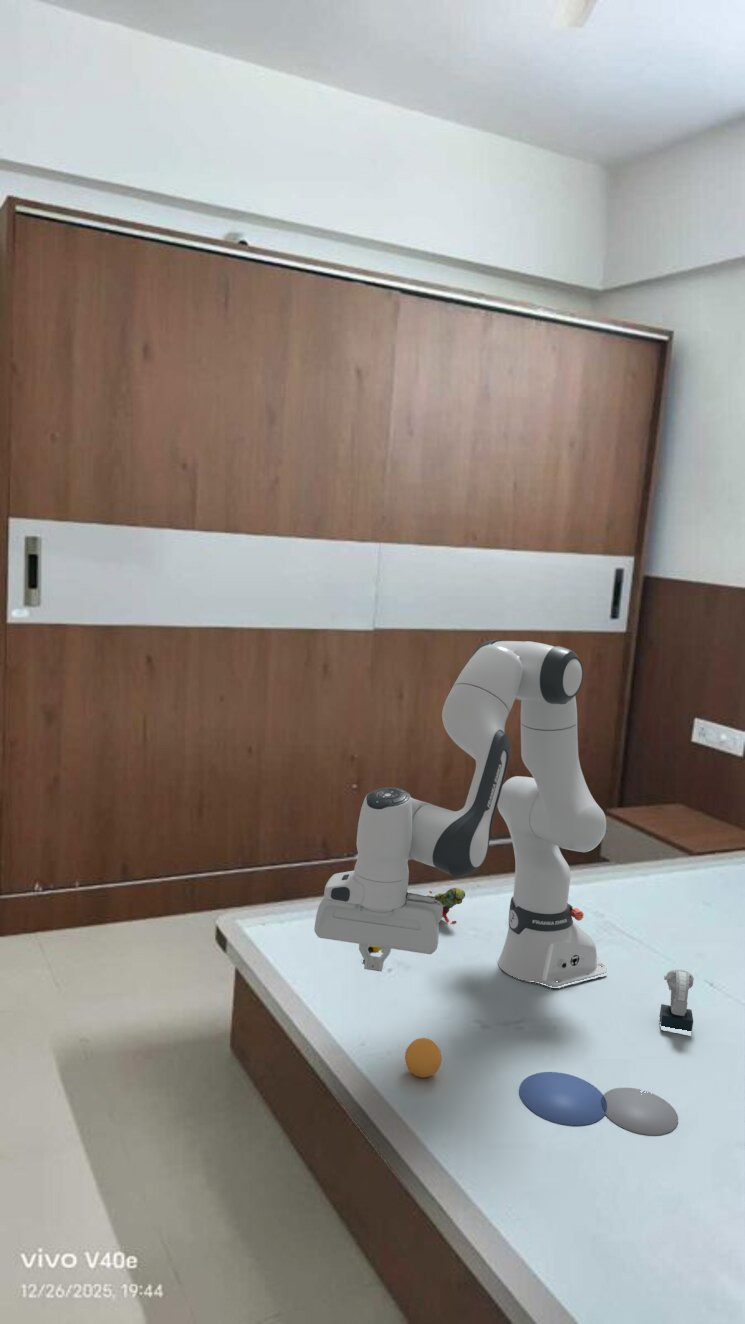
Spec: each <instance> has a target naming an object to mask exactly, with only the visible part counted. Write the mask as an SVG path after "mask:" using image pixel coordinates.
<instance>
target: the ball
mask: <svg viewBox="0 0 745 1324" xmlns="http://www.w3.org/2000/svg"><path fill="white" fill-rule="evenodd" d="M404 1061H405V1065H406V1067H407V1069H408V1070H409V1072H410V1073H411V1074H413V1075H414V1076H416V1077H419V1078H429V1077H431V1076H433V1075H434V1074H436V1073H437V1071H438V1070H439V1069H440V1067H441V1064H442V1052H441V1050H440V1047H439V1046H438V1044H437V1043H436V1042H434V1041H433V1040H432V1039H429V1038H425V1037H421V1038H417V1039H414V1040H413V1041H411V1042H410V1043H409V1044H408V1046H407V1048H406V1050H405V1054H404Z"/></svg>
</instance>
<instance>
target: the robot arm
mask: <svg viewBox="0 0 745 1324" xmlns="http://www.w3.org/2000/svg"><path fill="white" fill-rule="evenodd" d="M583 678H584V668H583V663H582V661H581V659H580V657H579V656H578V654H577V653H576V652H575V651H573V650H571V649H569V648H566V647H563V646H560V645H556V646H553V645H551V644H550V645H549V644H546V643H541V642H535V641H531V640H530V641H528V640H527V641H520V640H519V641H517V640H502V639H490V640H486V641H483V642H481V644H479V645H478V646H477V647H476V648H475V649H474V651H473V652H472V655H471V657H470V659H469V660H468V662H467V663H466V664H465V666H464V667H463V669H462V670H461V672H460V673H459V675H458V677H457V679H456V680H455V682H454V683H453V686H452V688H451V689H450V692H449V693H448V695H447V697H446V699H445V702H444V703H443V707H442V712H441V718H442V719H441V720H442V723H443V726H444V730H445V731H446V733H447V734H448V736H449V737H450V739H451V740H452V741H453V742H454V743H455V744H456V745H457V746H458V747H459V748H460V749H461V750H463V751H464V752H465V753H466V754H468V755H469V756H470V757H471V758H473V759H474V760H475V770H474V773H473V776H472V781H471V783H470V788H469V791H468V795H467V797H466V801H465V803H464V806H463V807H462V808H461V809H459V810H457V811H454V810H451V809H447V808H445V807H441V806H437V805H435V804H432V803H430V802H426V801H422V800H419V799H416V798H413V797H411V794H410V793H409V792H408V791H406V790H404V789H402V788H398V787H391V786H390V787H380V788H376V789H374V790H371V791H370V792H368V793H367V794H366V796H365V797H364V800H363V803H362V806H361V808H360V813H359V818H358V823H357V834H356V843H355V845H356V848H357V849H356V850H357V859H356V862H355V865H354V869H353V870H348V871H345V872H344V871H342V872H337V873H334V874H332V875H331V877H330V878H329V879H328V880H327V882H326V884H325V886H324V887H325V888H324V893H323V897H322V899H321V901H320V903H319V905H318V907H317V912H316V915H315V919H314V920H315V921H314V930H313V931H314V934H316V936H317V938H320V939H325V940H332V941H337V942H338V941H339V942H345V943H352V944H357V945H359V946H358V950H359V953H360V954H361V956H362V958H363V960H365V963H364V965H363V966H364V967H363V969H364V970H368V971H375V972H381V973H382V971H383V969H384V962H385V961H386V959H387V958H388V957H389V955H390V954H391V951H392V950H398V951H399V950H400V951H405V952H410V953H411V952H412V953H418V954H424V955H425V954H426V955H432V954H433V953H435V952H436V950H437V949H438V947H439V945H438V944H439V937H440V936H439V935H440V933H439V931H440V930H439V927H440V926H439V923H440V922H441V921H442V919H443V917H442V915H443V906H442V904H441V903H440V901H438V900H436V899H435V897H434V895H433V896H432V895H425V894H424V895H423V894H419V893H413V892H408V887H409V886H408V885H409V877H410V876H409V875H410V870H409V865H408V864H409V863H408V861H410V860H414V861H416V862H418V863H421V864H425V865H428V866H429V867H433V868H436V869H437V870H439V871H441V872H443V873H445V874H447V875H449V876H451V877H454V878H456V879H457V878H458V879H459V878H463V877H465V876H467V875H470V874H472V873H474V872H476V871H477V870H478V869H480V867H482V865H483V864H484V863H485V861H486V858H487V854H488V851H489V848H490V847H489V846H490V839H491V833H492V832H491V831H492V825H493V822H494V817H495V815H496V814H495V813H496V811H497V809H498V812H499V814H500V815H501V817H502V818H503V820H504V822H505V824H506V826H507V829H508V832H509V835H510V839H511V843H512V847H513V853H514V858H515V859H514V860H515V868H514V869H515V871H514V883H513V884H514V885H513V893H512V894H513V895H512V897H511V898H510V902H509V911H508V929H507V934H506V938H505V942H504V945H503V947H502V951H501V953H500V955H499V958H498V961H497V962H498V963H497V964H498V966H499V968H500V969H501V970H502V971H503V972H504V973H506V974H507V975H509V976H511V977H512V976H513V978H515V977H516V978H515V979H517V978H519V979H518V980H520V979H521V980H520V981H523V980H526V981H525V982H527V981H534V982H539V983H543V984H546V985H548V986H552V987H558V986H562V985H564V984H568V983H572V982H575V981H580V980H584V979H587V978H591V977H595V976H598V975H601V974H604V973H606V972H607V967H606V965H605V964H604V962H603V961H602V959H600V958H599V957H597V955H598V954H597V946H596V944H595V942H594V941H595V940H593V939H592V937H591V936H590V935H589V934H588V933H587V932H586V931H585V930H583V929H582V927H580V926H579V925H578V924H576V923H575V922H574V920H573V919H575V920H577V921H579V922H580V921H582V920H583V918H584V916H585V914H584V912H583V911H582V910H580V909H579V908H576V907H575V908H573V906H572V905H571V904H570V903H569V893H570V884H571V875H572V874H571V869H570V865H569V864H568V862H567V860H566V859H565V858H564V855H563V854H562V852H561V849H564V850H569V851H572V852H573V851H574V852H579V853H580V852H581V853H588V852H590V851H592V850H595V848H597V847H598V845H599V844H600V843H601V842H602V840H603V839H604V837H605V835H606V831H607V817H606V814H605V812H604V810H603V808H601V807H600V805H599V804H598V803H597V802H596V800H595V799H594V797H593V795H592V794H591V791H590V789H589V787H588V785H587V783H586V780H585V777H584V774H583V771H582V767H581V763H580V757H579V740H578V739H579V738H578V708H577V700H576V699H577V698H576V695H577V694H578V693H579V691H580V689H581V687H582V684H583ZM515 700H518V701H521V702H520V756H521V760H522V762H523V765H524V766H525V767H526V769H527V770H528V771H529V773H530V774H531V777H529V776H521V775H519V776H517V775H515V776H512V777H511V778H509V779H507V780H506V781H505V778H506V774H507V770H508V766H509V761H510V757H511V756H510V755H511V741H510V737H509V736H508V735H507V734H506V733H505V728H506V722H507V719H508V717H509V715H510V712H511V710H512V708H513V705H514V703H515ZM434 901H435V902H437V903H434ZM369 945H371V946H377V947H382V948H381V950H380V952H381V953H382V954H381V955H380V956H374V955H371V953H369V951H368V947H369ZM599 966H601V967H599ZM556 981H558V982H556Z"/></svg>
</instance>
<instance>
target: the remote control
mask: <svg viewBox="0 0 745 1324" xmlns="http://www.w3.org/2000/svg"><path fill="white" fill-rule="evenodd" d="M381 948H382V947H377V946H371V945H369V947H368V951H369V953H370V954H371V953H378V952H381ZM362 963H364V964H365V960H364V959H363V960H362Z"/></svg>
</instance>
